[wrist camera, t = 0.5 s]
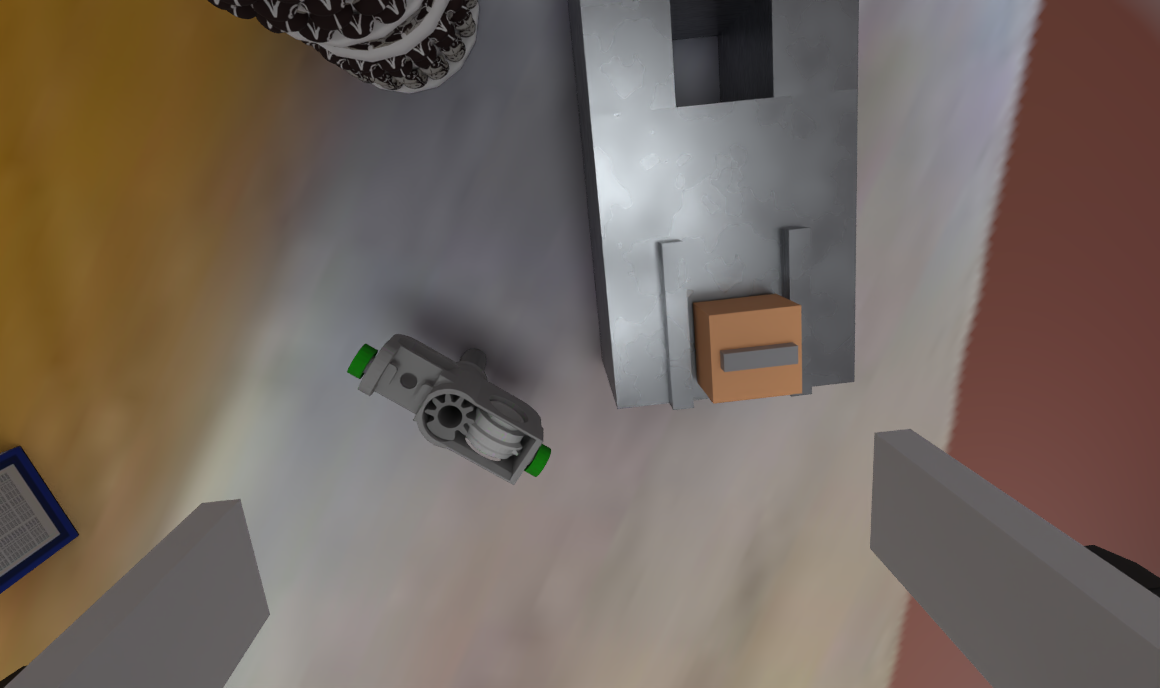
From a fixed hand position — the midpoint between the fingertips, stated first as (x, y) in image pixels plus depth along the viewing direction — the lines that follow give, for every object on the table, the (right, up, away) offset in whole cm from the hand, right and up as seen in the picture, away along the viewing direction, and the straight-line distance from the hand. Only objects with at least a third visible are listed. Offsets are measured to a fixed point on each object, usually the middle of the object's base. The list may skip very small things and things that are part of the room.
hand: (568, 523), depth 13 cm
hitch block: (+6, +14, +23) cm, 28 cm away
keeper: (+8, +4, +17) cm, 19 cm away
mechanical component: (-6, +3, +26) cm, 27 cm away
